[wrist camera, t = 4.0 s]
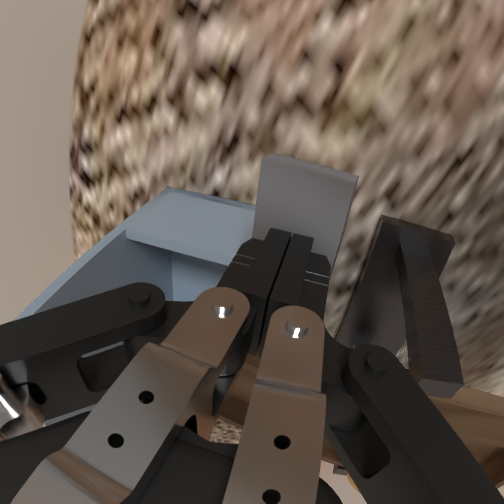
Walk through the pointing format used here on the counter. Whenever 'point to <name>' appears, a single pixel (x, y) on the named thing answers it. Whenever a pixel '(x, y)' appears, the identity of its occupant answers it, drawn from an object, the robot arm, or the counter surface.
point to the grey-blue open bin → (157, 254)
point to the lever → (328, 243)
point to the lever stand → (406, 305)
